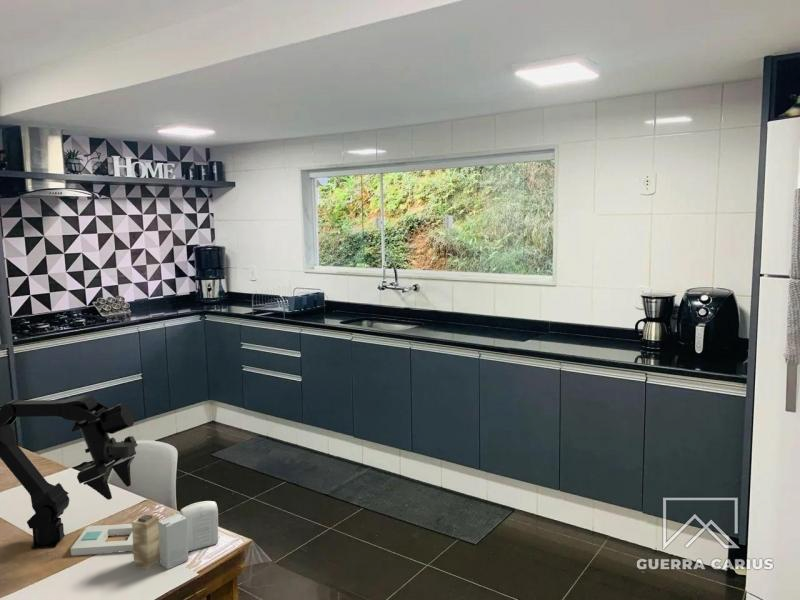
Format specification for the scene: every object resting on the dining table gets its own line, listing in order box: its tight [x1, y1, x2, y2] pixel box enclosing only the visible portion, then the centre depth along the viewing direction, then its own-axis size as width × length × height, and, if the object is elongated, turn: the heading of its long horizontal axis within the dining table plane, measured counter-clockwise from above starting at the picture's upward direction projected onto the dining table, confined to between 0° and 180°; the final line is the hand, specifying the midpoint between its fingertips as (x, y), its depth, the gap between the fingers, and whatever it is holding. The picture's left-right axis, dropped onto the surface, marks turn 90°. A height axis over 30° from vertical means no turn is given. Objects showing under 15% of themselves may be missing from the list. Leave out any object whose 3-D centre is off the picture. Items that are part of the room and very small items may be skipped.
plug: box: [131, 513, 160, 570], centre depth 155 cm, size 4×4×13 cm
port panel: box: [70, 523, 133, 556], centre depth 166 cm, size 20×12×2 cm, turn 98°
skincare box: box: [158, 513, 190, 570], centre depth 155 cm, size 6×4×12 cm
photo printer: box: [179, 500, 219, 552], centre depth 164 cm, size 10×4×12 cm, turn 123°
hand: (119, 492), depth 163 cm, fingers open, 9 cm apart
